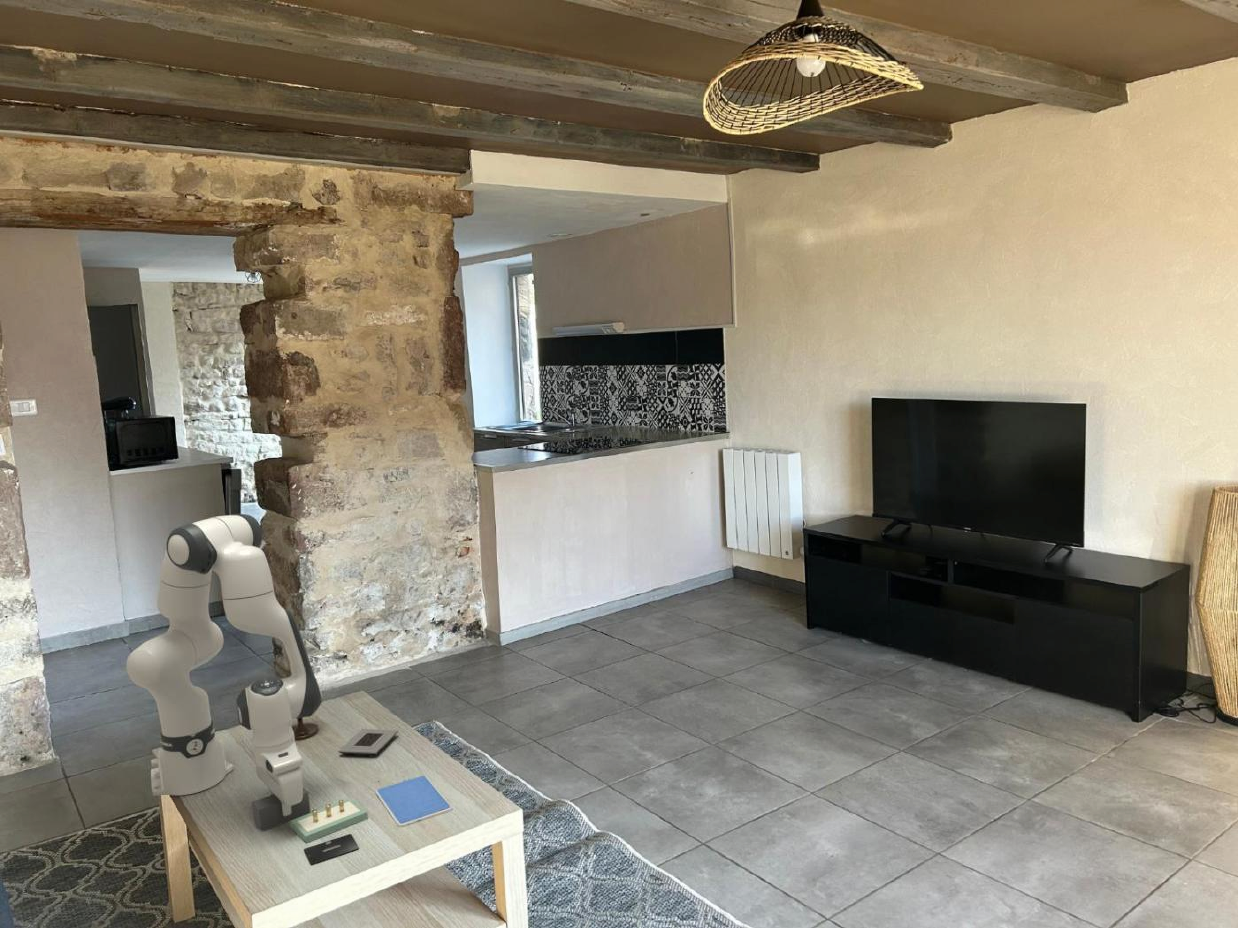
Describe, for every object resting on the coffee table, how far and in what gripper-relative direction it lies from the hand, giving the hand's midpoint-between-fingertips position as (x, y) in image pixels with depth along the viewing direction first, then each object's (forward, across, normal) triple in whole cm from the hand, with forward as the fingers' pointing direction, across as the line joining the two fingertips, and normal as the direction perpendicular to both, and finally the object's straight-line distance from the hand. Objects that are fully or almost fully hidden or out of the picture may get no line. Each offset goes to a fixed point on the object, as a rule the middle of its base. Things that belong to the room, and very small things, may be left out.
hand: (281, 808), depth 203 cm
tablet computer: (+3, +15, +25) cm, 29 cm away
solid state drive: (+3, +21, +3) cm, 21 cm away
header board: (+2, +10, +7) cm, 12 cm away
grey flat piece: (+3, -20, +30) cm, 36 cm away
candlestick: (+2, -42, +20) cm, 47 cm away
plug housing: (+2, 0, 0) cm, 2 cm away
